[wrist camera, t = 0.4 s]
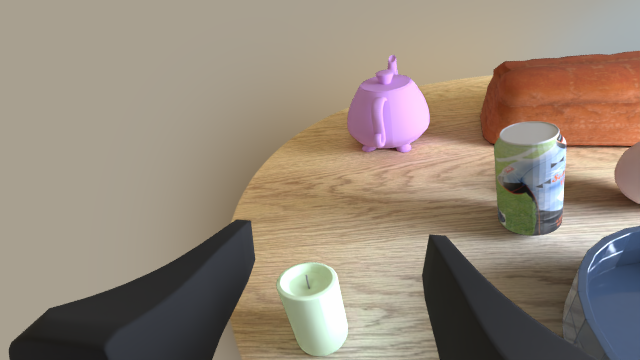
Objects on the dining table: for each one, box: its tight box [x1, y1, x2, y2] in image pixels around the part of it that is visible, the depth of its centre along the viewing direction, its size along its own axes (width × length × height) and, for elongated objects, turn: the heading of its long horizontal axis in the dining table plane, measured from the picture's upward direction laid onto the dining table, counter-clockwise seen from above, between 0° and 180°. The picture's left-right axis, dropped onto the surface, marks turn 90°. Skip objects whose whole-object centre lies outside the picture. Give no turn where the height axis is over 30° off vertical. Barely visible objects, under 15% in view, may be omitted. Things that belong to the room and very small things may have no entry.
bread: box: [480, 51, 640, 146], centre depth 49 cm, size 16×27×11 cm, turn 72°
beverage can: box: [494, 121, 566, 236], centre depth 34 cm, size 6×7×12 cm
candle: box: [276, 262, 348, 356], centre depth 28 cm, size 5×5×8 cm
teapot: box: [347, 55, 430, 152], centre depth 56 cm, size 20×14×12 cm
